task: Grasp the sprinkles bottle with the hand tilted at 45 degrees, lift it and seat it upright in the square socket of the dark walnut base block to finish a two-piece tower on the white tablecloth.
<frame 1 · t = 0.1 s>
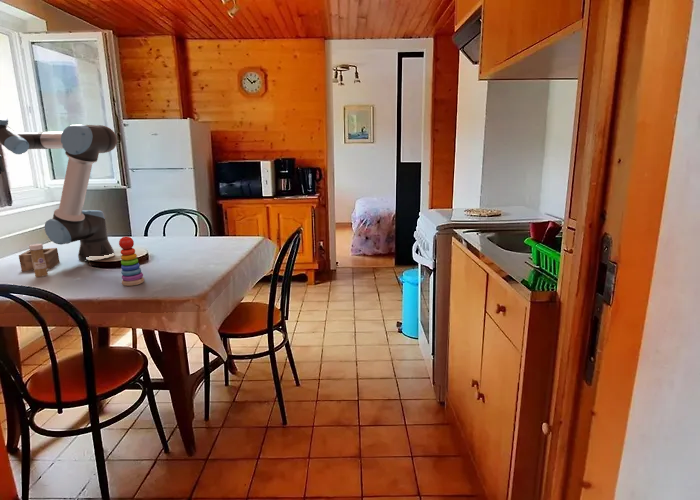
sprinkles bottle: (41, 276, 184), on the table
stacking toy: (133, 283, 171), on the table
walnut socket block: (41, 266, 197), on the table
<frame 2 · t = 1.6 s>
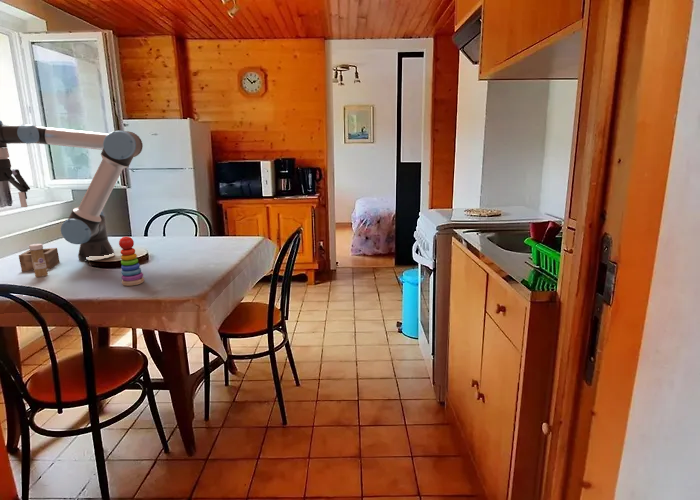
hand: (8, 209, 187), 27 cm above the table, tool pointing down, fingers open, 13 cm apart
nothing on the table moved.
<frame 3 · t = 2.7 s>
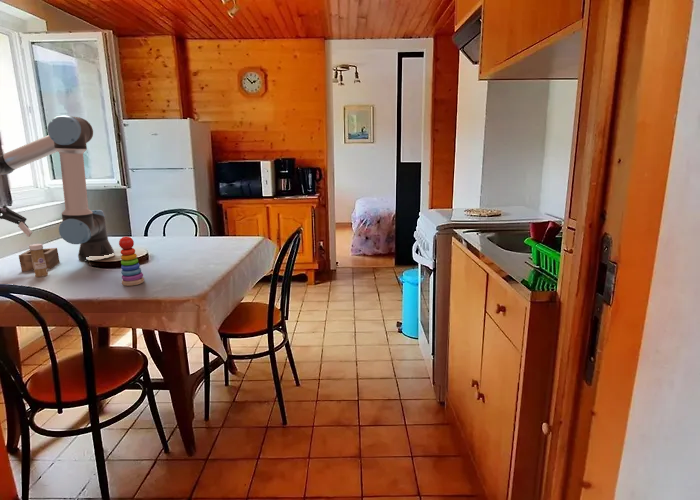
hand: (14, 238, 183), 16 cm above the table, tool tilted 45°, fingers open, 13 cm apart
nothing on the table moved.
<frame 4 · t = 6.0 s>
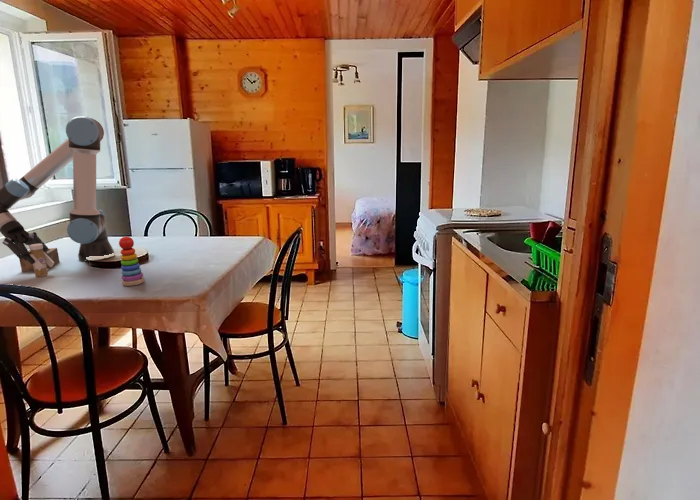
hand: (46, 266, 182), 4 cm above the table, tool tilted 45°, fingers closed on sprinkles bottle, 4 cm apart
sprinkles bottle: (41, 276, 184), on the table, touching gripper
everything else where it was.
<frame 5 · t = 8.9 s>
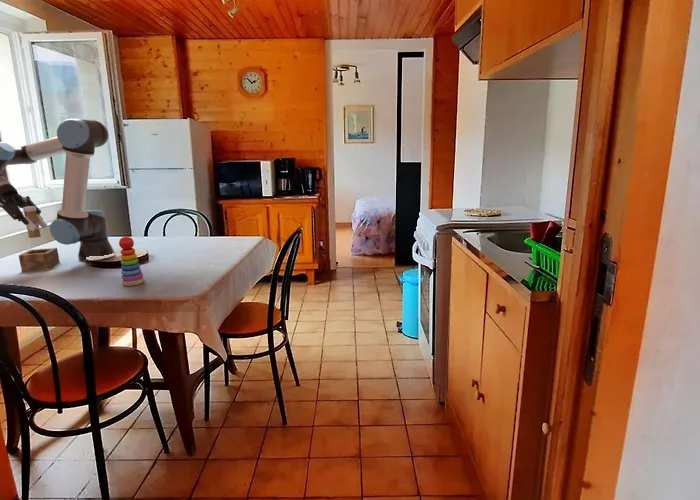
hand: (39, 227, 191), 18 cm above the table, tool tilted 45°, fingers closed on sprinkles bottle, 4 cm apart
sprinkles bottle: (35, 237, 193), point 14 cm above the table, touching gripper
everything else where it was.
when the fingers open (9 cm above the table, at t = 11.6 s): sprinkles bottle drops 3 cm, resting on walnut socket block.
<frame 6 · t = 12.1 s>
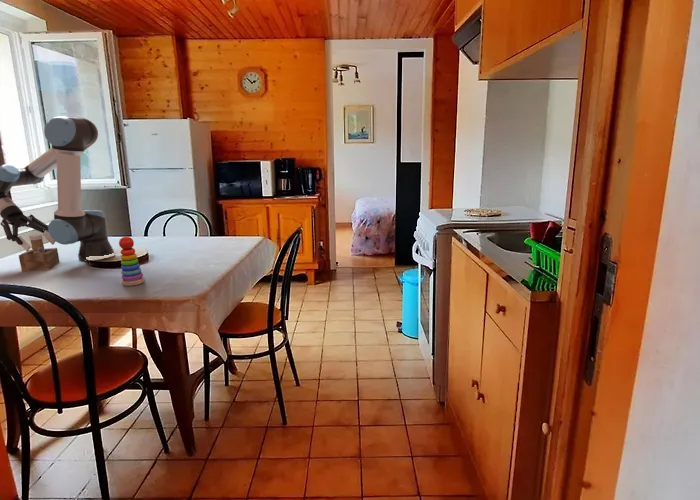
hand: (41, 245, 194), 10 cm above the table, tool tilted 45°, fingers open, 11 cm apart
sprinkles bottle: (41, 264, 197), point 1 cm above the table, touching walnut socket block
everything else where it was.
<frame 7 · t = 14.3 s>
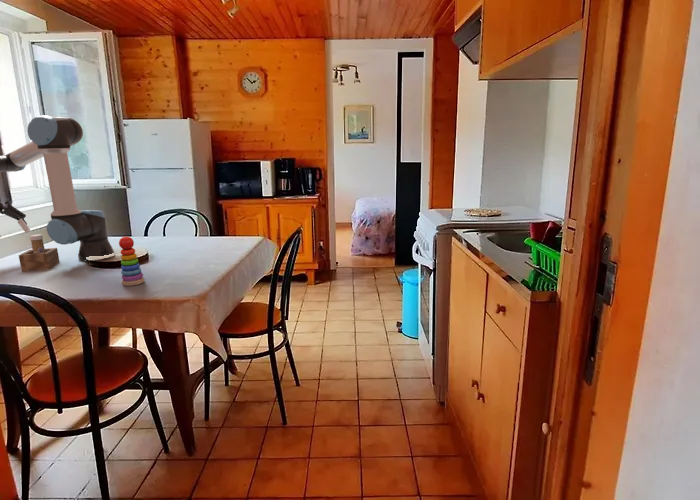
hand: (13, 234, 197), 14 cm above the table, tool tilted 35°, fingers open, 13 cm apart
nothing on the table moved.
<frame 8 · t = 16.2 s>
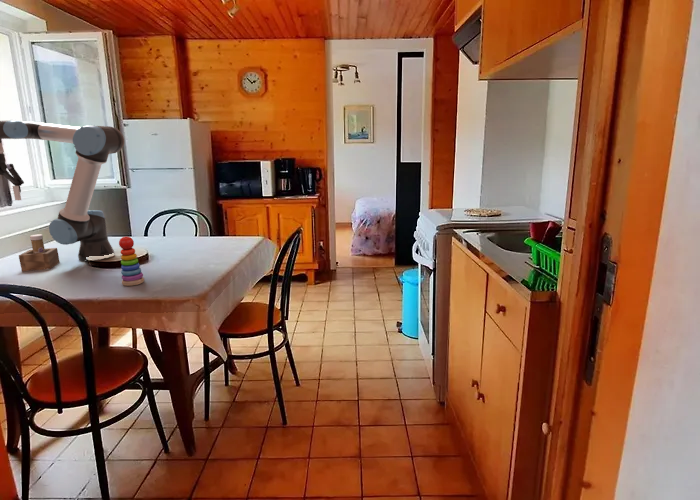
hand: (3, 202, 195), 29 cm above the table, tool pointing down, fingers open, 13 cm apart
nothing on the table moved.
at the end: sprinkles bottle 0.3 cm off-centre on the walnut socket block, point 0.8 cm above the walnut socket block's base; sprinkles bottle tilted 0°; the gripper is holding nothing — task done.
